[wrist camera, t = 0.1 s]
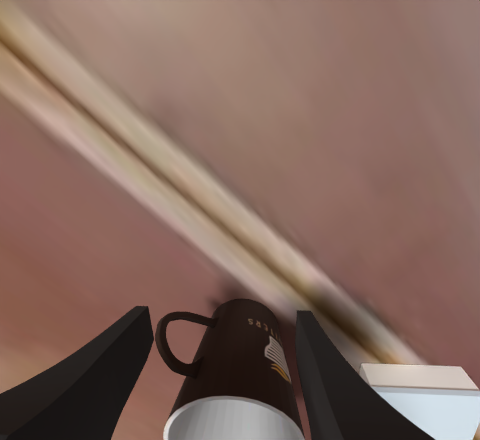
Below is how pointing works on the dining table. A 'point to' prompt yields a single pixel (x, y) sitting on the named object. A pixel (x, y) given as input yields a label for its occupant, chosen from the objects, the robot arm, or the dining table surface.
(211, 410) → the coffee mug
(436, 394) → the lid
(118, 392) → the robot arm
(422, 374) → the tub
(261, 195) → the dining table surface
